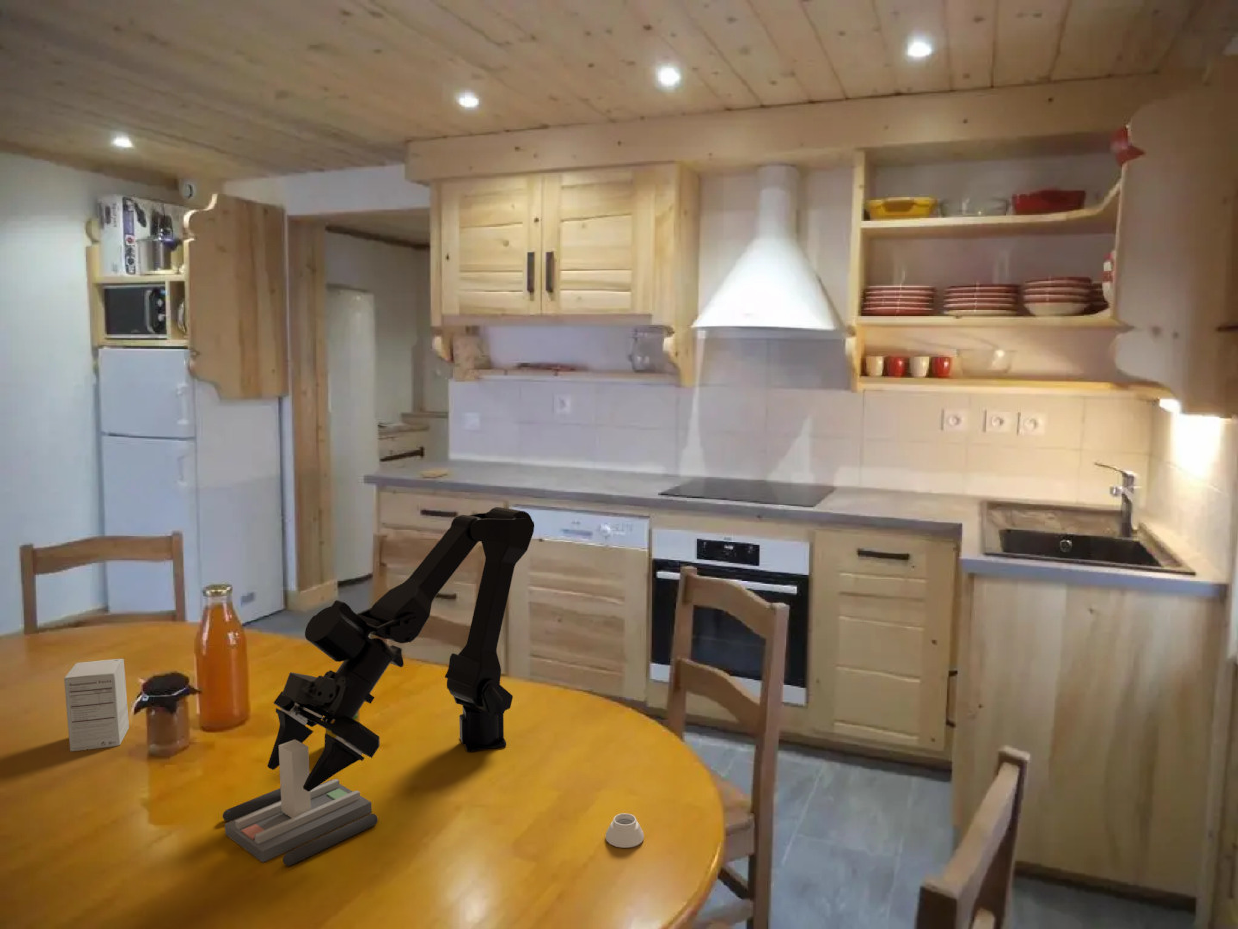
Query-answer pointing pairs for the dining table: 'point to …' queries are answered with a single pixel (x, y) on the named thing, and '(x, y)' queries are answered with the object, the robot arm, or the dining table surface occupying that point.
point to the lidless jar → (624, 831)
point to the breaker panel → (297, 821)
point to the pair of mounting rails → (312, 846)
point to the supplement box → (96, 704)
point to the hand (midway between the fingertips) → (287, 779)
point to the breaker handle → (294, 778)
